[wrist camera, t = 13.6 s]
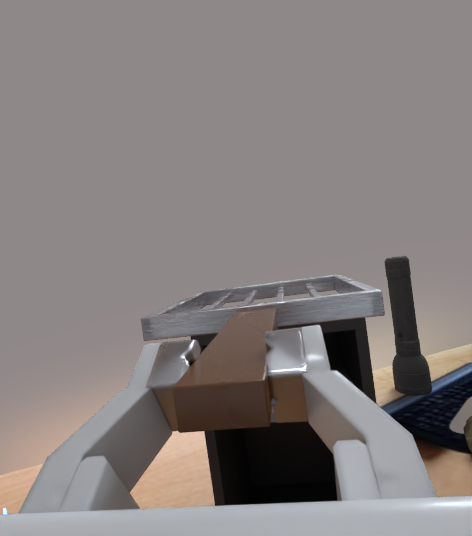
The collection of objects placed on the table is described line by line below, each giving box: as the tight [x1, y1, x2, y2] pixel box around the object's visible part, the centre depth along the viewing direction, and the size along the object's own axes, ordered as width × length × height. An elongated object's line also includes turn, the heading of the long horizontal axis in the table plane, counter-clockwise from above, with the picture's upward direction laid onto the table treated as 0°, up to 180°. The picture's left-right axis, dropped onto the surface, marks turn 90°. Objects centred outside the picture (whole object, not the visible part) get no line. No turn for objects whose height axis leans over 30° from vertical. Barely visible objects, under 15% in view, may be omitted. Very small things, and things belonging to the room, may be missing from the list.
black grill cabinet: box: [191, 294, 376, 506], centre depth 40 cm, size 16×17×26 cm
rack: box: [141, 275, 385, 433], centre depth 19 cm, size 23×12×1 cm, turn 172°
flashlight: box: [385, 256, 432, 395], centre depth 74 cm, size 7×28×7 cm
